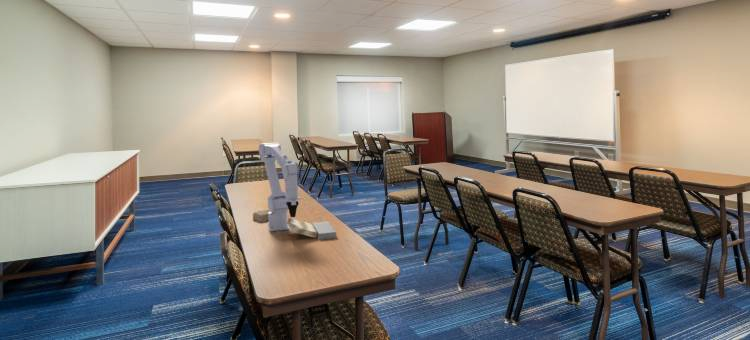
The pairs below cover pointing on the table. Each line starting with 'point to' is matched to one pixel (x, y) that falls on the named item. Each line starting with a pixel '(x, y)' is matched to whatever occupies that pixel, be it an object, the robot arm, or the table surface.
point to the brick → (261, 215)
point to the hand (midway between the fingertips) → (292, 216)
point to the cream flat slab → (301, 227)
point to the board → (324, 230)
